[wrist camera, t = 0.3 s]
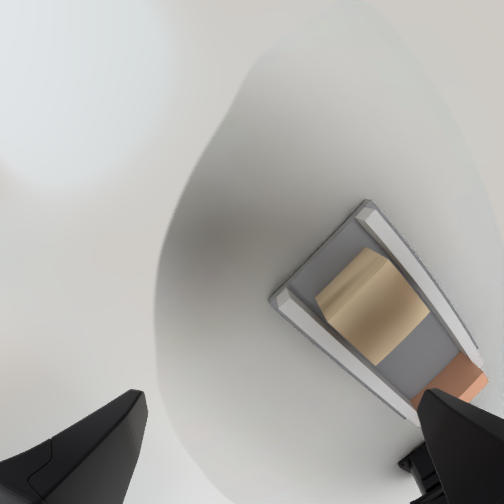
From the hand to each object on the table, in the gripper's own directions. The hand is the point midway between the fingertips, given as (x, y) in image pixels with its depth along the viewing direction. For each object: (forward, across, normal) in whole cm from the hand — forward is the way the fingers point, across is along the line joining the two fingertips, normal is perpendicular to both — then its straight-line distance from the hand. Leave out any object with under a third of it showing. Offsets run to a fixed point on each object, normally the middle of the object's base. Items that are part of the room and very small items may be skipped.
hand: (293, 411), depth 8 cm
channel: (+14, -11, +4) cm, 18 cm away
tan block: (+13, -7, +1) cm, 14 cm away
